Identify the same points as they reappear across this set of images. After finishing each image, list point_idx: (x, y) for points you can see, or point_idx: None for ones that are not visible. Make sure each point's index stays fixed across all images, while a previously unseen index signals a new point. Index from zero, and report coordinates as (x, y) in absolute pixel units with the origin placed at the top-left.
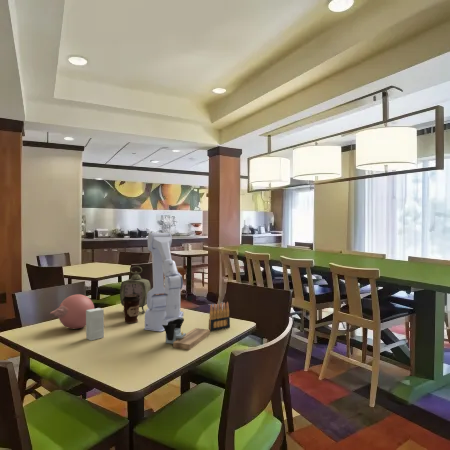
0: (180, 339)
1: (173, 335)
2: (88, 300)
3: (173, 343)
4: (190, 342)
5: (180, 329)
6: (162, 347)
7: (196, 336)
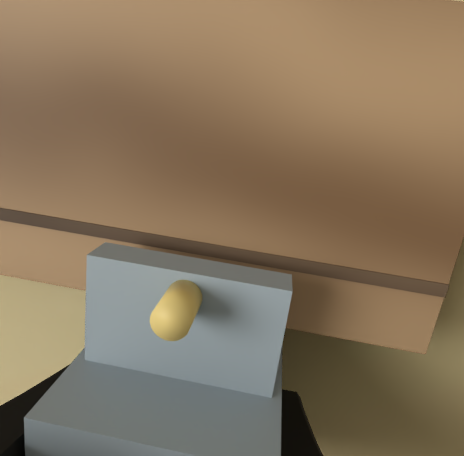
0: None
1: (284, 437)
2: None
3: (419, 341)
4: (398, 38)
5: (44, 403)
6: (416, 435)
7: (20, 42)
